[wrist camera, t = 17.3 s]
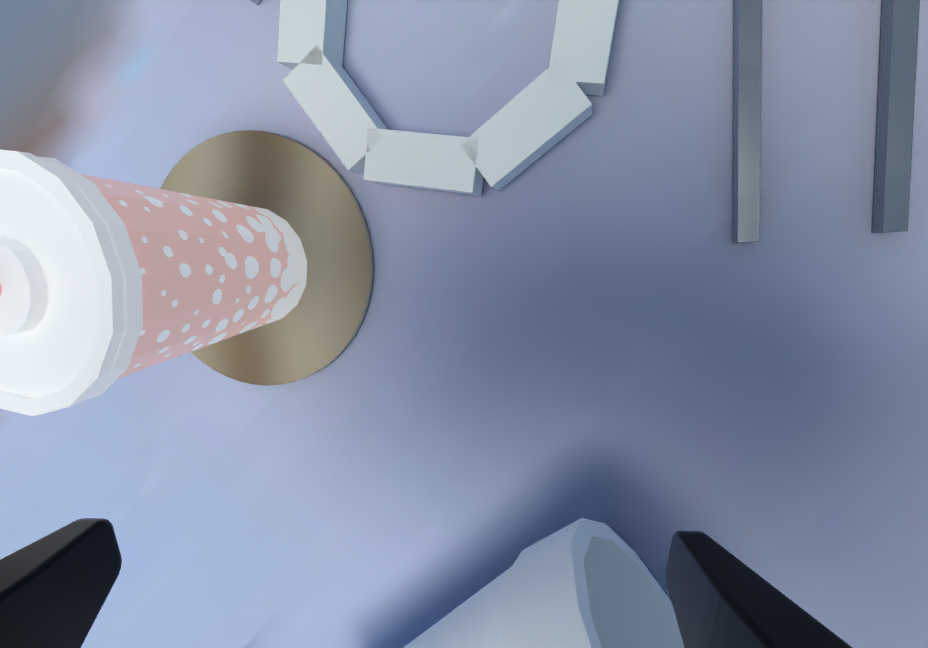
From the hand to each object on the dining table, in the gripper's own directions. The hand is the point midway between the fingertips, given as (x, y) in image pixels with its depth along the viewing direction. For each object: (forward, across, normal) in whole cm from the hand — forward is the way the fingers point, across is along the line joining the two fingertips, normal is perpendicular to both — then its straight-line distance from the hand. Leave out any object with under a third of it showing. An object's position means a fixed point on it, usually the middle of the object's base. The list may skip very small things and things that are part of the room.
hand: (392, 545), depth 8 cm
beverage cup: (+13, +7, -1) cm, 15 cm away
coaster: (+14, +7, -1) cm, 15 cm away
